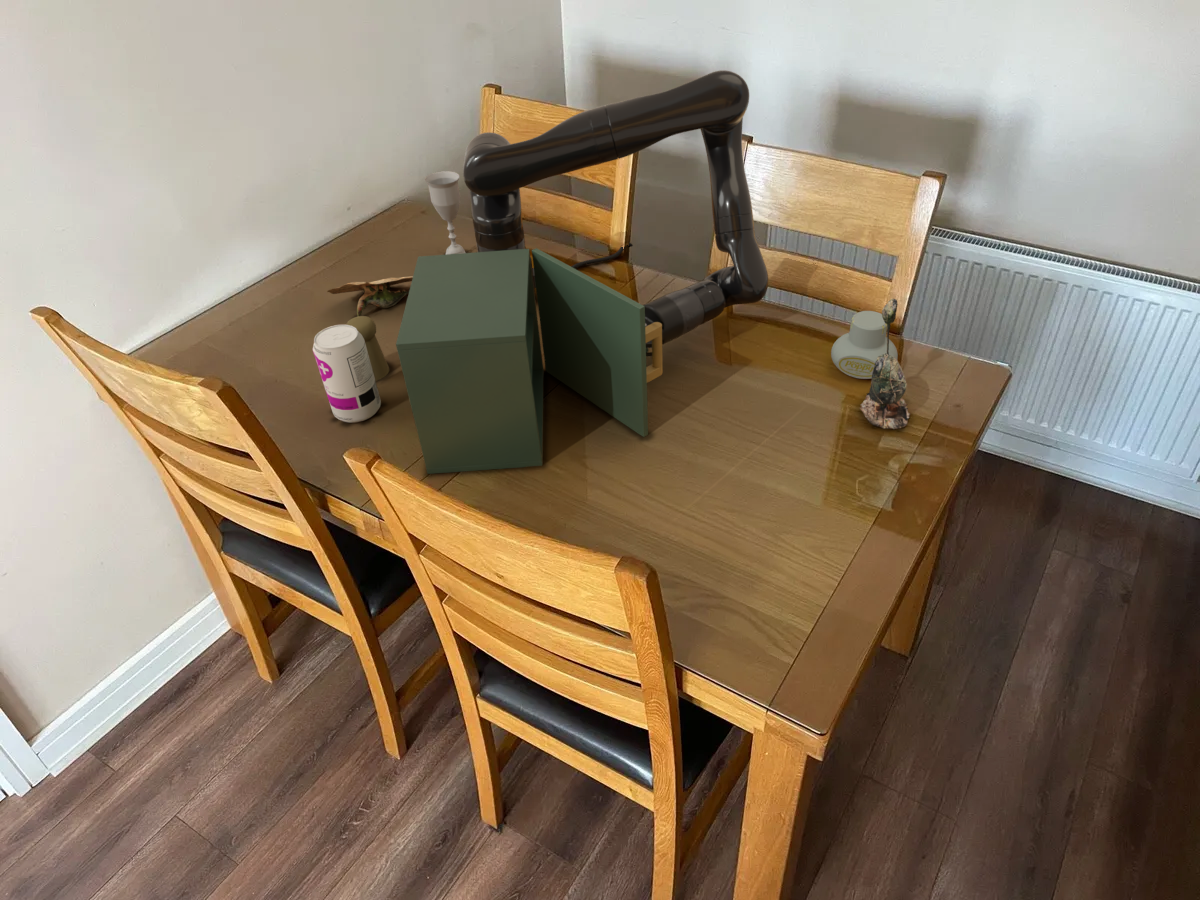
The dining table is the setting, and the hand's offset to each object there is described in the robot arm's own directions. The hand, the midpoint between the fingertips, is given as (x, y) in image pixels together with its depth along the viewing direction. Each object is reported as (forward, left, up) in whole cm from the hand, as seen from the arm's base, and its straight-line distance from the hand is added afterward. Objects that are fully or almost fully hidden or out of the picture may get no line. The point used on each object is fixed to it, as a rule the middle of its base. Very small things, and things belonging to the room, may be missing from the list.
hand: (590, 353), depth 143 cm
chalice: (-15, -61, -9) cm, 64 cm away
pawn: (+22, -36, -9) cm, 43 cm away
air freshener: (-37, +28, -9) cm, 48 cm away
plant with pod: (-28, +38, -9) cm, 48 cm away
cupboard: (+16, -9, -9) cm, 20 cm away
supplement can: (+30, -28, -9) cm, 42 cm away
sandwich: (+8, -57, -9) cm, 58 cm away
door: (-2, +1, -9) cm, 9 cm away
